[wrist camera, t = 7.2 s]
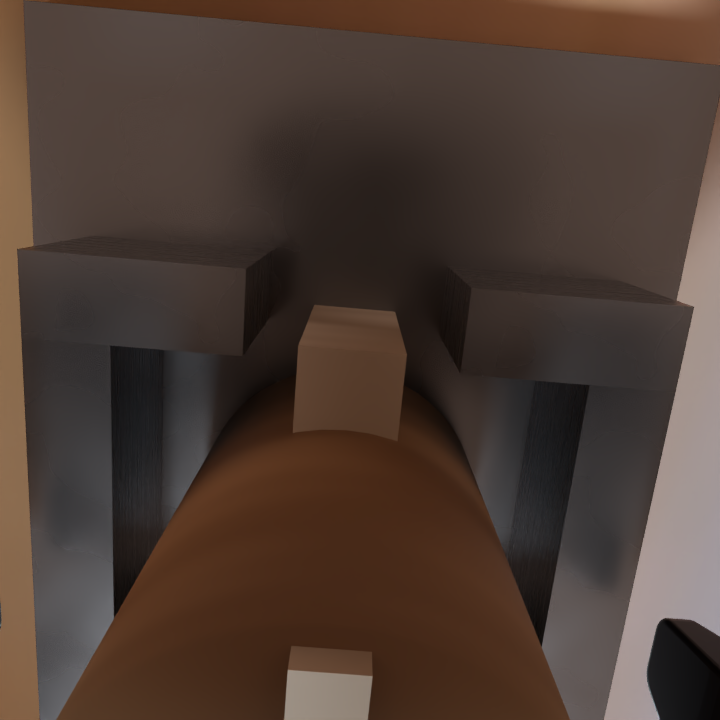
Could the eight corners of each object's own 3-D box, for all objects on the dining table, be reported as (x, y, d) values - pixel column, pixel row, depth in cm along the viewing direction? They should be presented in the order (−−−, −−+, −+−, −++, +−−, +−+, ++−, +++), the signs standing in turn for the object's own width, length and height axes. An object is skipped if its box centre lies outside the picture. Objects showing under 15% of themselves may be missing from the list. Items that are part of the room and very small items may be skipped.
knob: (201, 603, 13) (7, 1108, 6) (209, 295, 11) (-40, 476, 4) (454, 622, 13) (566, 1143, 6) (498, 320, 11) (720, 534, 4)
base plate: (73, 782, 15) (-6, 945, 12) (47, 13, 11) (-84, -60, 8) (549, 816, 15) (600, 983, 12) (700, 74, 11) (838, 28, 8)
